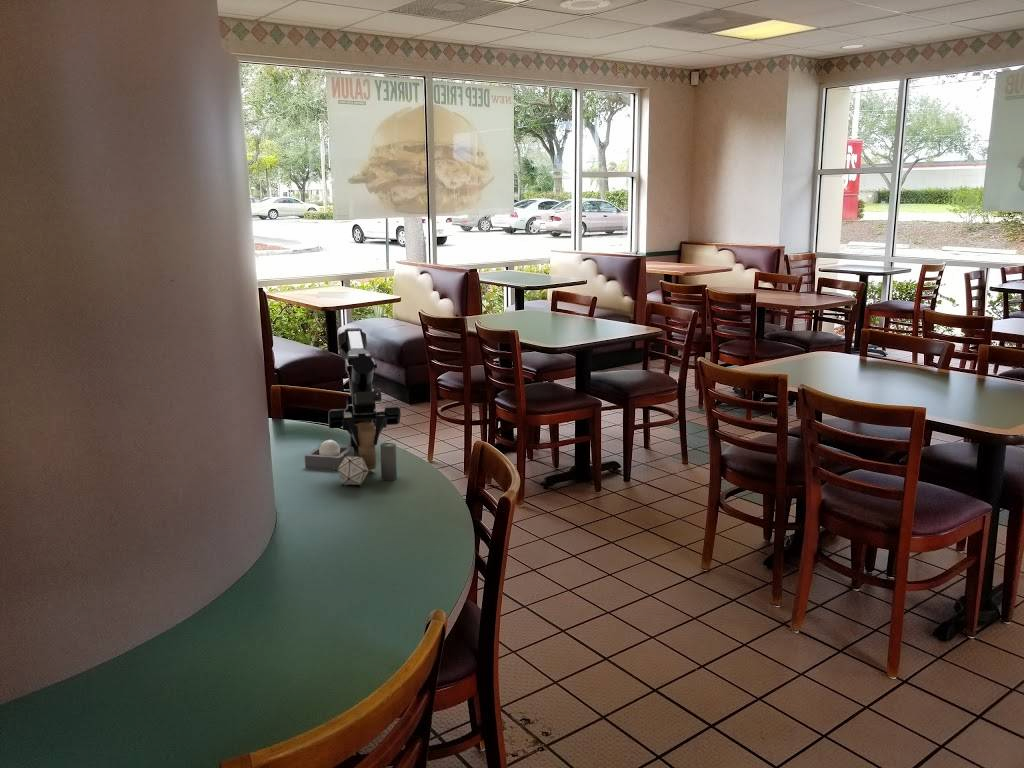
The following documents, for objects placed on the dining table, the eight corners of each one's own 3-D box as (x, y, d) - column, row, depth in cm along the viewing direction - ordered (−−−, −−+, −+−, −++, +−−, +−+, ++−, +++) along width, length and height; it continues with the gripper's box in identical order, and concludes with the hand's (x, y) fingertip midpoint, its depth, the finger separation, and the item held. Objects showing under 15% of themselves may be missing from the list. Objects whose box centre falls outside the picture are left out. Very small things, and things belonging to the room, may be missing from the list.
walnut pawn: (357, 466, 220) (355, 422, 218) (373, 464, 222) (372, 420, 219) (361, 471, 217) (359, 427, 214) (377, 469, 218) (376, 425, 216)
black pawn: (384, 475, 218) (383, 442, 216) (398, 476, 217) (398, 443, 215) (379, 480, 214) (377, 446, 212) (393, 481, 213) (392, 447, 211)
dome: (324, 457, 231) (323, 436, 230) (343, 458, 230) (342, 437, 229) (316, 463, 225) (315, 442, 224) (335, 464, 224) (334, 443, 223)
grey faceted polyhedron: (346, 498, 211) (328, 464, 213) (376, 483, 214) (358, 449, 216) (346, 492, 203) (328, 457, 205) (378, 476, 206) (359, 441, 207)
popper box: (320, 455, 233) (319, 444, 233) (354, 458, 232) (353, 447, 231) (305, 466, 224) (304, 455, 223) (340, 469, 222) (339, 457, 221)
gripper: (327, 379, 216) (330, 432, 208) (399, 376, 220) (405, 428, 212) (327, 401, 225) (330, 453, 217) (396, 398, 229) (401, 448, 221)
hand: (367, 445), depth 217 cm, fingers closed on walnut pawn, 4 cm apart
